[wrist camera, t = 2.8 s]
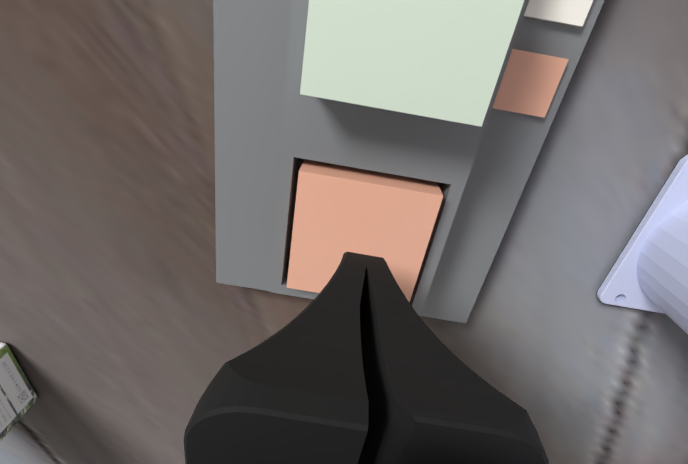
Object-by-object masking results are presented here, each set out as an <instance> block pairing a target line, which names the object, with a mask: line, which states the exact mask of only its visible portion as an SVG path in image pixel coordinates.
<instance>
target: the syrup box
mask: <svg viewBox="0 0 688 464" xmlns="http://www.w3.org/2000/svg"><path fill="white" fill-rule="evenodd" d="M37 399H38V397H37V395H36V393H35V392H34V390H33V388H32V386H31V385H30V383H29V381H28V380H27V378H26V376H25V374H24V373H23V371H22V369H21V367H20V366H19V364H18V362H17V360H16V359H15V357H14V355H13V354H12V352H11V350H10V348H9V347H8V345H7V344H6V343H2V342H0V441H1V440H2V439H3V438H4V437H5V435H6V434H7V433H8V432H9V431H10V430H11V429H12V427H13V426H14V425H15V424H16V423H17V422H18V421H19V420H20V419H21V418H22V417H23V415H24V414H25V413H26V412H27V411H28V410H29V409H30V407H31V406H32V405H33V404H34V403H35V402H36V401H37Z"/></svg>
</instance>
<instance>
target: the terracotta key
mask: <svg viewBox="0 0 688 464" xmlns="http://www.w3.org/2000/svg"><path fill="white" fill-rule="evenodd" d="M442 199H443V194H442V192H441V190H440V188H439V185H438V183H437V182H434V181H428V180H423V179H417V178H411V177H405V176H400V175H394V174H388V173H382V172H377V171H371V170H365V169H360V168H354V167H348V166H342V165H337V164H331V163H325V162H319V161H314V160H308V159H305V160H304V162H303V164H302V166H301V168H300V170H299V174H298V184H297V193H296V202H295V212H294V221H293V231H292V240H291V250H290V259H289V269H288V278H287V288H292V289H298V290H304V291H310V292H316V293H320V292H321V291H322V290H323V288H324V287H325V286H326V285H327V283H328V282H329V280H330V279H331V277H332V276H333V274H334V273H335V271H336V270H337V268H338V266H339V264H340V262H341V260H342V257H343V254H344V253H345V252H353V253H359V254H364V255H370V256H376V257H382V258H384V260H385V261H386V263H387V265H388V267H389V269H390V271H391V273H392V275H393V276H394V278H395V280H396V282H397V284H398V285H399V287H400V289H401V290H402V292H403V293H404V295H405V297H406V298H407V300H408V301H409V303H410V299H411V296H412V293H413V290H414V287H415V284H416V281H417V277H418V274H419V271H420V268H421V265H422V262H423V259H424V255H425V252H426V249H427V246H428V243H429V240H430V237H431V233H432V230H433V227H434V224H435V221H436V218H437V215H438V211H439V208H440V205H441V202H442Z"/></svg>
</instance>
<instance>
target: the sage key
mask: <svg viewBox="0 0 688 464" xmlns="http://www.w3.org/2000/svg"><path fill="white" fill-rule="evenodd" d="M523 3H524V0H309V5H308V16H307V26H306V36H305V47H304V57H303V67H302V78H301V88H300V94H302V95H308V96H313V97H319V98H324V99H330V100H336V101H341V102H347V103H352V104H358V105H364V106H369V107H375V108H380V109H386V110H392V111H397V112H403V113H408V114H414V115H419V116H425V117H431V118H436V119H442V120H447V121H453V122H459V123H464V124H470V125H475V126H481V127H482V124H483V121H484V118H485V115H486V112H487V109H488V106H489V103H490V100H491V97H492V95H493V92H494V89H495V86H496V83H497V80H498V77H499V74H500V71H501V68H502V65H503V62H504V59H505V56H506V53H507V50H508V47H509V44H510V41H511V38H512V36H513V33H514V30H515V27H516V24H517V21H518V18H519V15H520V12H521V9H522V6H523Z"/></svg>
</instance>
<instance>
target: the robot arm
mask: <svg viewBox="0 0 688 464" xmlns="http://www.w3.org/2000/svg"><path fill="white" fill-rule="evenodd" d="M620 294H621V295H620ZM618 295H620V296H618ZM617 296H618V297H617ZM597 297H598V298H599V300H600V301H601V302H602V303H605V304H610V305H616V306H622V307H628V308H634V309H640V310H646V311H652V312H658V313H664V314H667V315H668V316H669V317H670V318H671V319H672V320H673V321H674V322H675V323H676V324H677V325H678V326H679V327H680V328H682V329H683V330H684V331H685V332H686V333H687V334H688V155H686V156H685V157H683V158H682V159H681V160H680V161H679V162H678V164H677V165H676V167H675V169H674V170H673V172H672V173H671V175H670V177H669V178H668V180H667V181H666V183H665V185H664V186H663V188H662V189H661V191H660V192H659V194H658V196H657V197H656V199H655V200H654V202H653V204H652V205H651V207H650V208H649V210H648V212H647V213H646V215H645V216H644V218H643V220H642V221H641V223H640V224H639V226H638V228H637V229H636V231H635V232H634V234H633V236H632V237H631V239H630V240H629V242H628V244H627V245H626V247H625V248H624V250H623V252H622V253H621V255H620V256H619V258H618V260H617V261H616V263H615V264H614V266H613V268H612V269H611V271H610V272H609V274H608V276H607V277H606V279H605V280H604V282H603V284H602V285H601V287H600V288H599V290H598V292H597ZM615 297H616V298H615ZM184 450H185V462H186V464H548V458H547V456H546V453H545V451H544V449H543V446H542V444H541V441H540V438H539V436H538V433H537V431H536V429H535V427H534V425H533V423H532V421H531V419H530V417H529V415H528V413H527V411H526V410H525V409H523V408H522V407H521V406H519V405H518V404H516V403H515V402H513V401H512V400H511V399H509V398H508V397H506V396H505V395H503V394H502V393H500V392H499V391H498V390H496V389H495V388H493V387H492V386H491V385H489V384H488V383H487V382H486V381H484V380H483V379H482V378H481V377H479V376H478V375H477V374H476V373H474V372H473V371H472V370H471V369H470V368H468V367H467V366H466V365H465V364H464V363H463V362H462V361H460V360H459V359H458V358H457V357H456V356H455V355H454V354H453V353H452V352H451V351H450V350H449V349H448V348H447V347H446V346H445V345H444V344H443V343H442V342H441V341H440V340H439V339H438V338H437V337H436V336H435V335H434V333H433V332H432V331H431V330H430V329H429V328H428V327H427V326H426V324H425V323H424V322H423V321H422V319H421V318H420V317H419V316H418V314H417V313H416V311H415V310H414V309H413V307H412V306H411V304H410V303H409V301H408V300H407V298H406V297H405V295H404V293H403V292H402V290H401V289H400V287H399V285H398V284H397V282H396V280H395V278H394V276H393V275H392V273H391V271H390V269H389V267H388V265H387V263H386V261H385V260H384V258H382V257H376V256H370V255H364V254H359V253H353V252H345V253H344V254H343V257H342V260H341V262H340V264H339V266H338V268H337V270H336V271H335V273H334V274H333V276H332V277H331V279H330V280H329V282H328V283H327V285H326V286H325V287H324V288H323V290H322V291H321V292H320V293H319V294H318V296H317V297H316V298H315V299H314V300H313V301H312V302H311V303H310V304H309V306H308V307H307V308H306V309H304V310H303V311H302V312H301V313H300V314H299V315H298V316H297V317H296V318H295V319H293V320H292V321H291V322H290V323H289V324H288V325H286V326H285V327H284V328H282V329H281V330H280V331H278V332H277V333H275V334H274V335H273V336H271V337H270V338H268V339H267V340H265V341H264V342H262V343H261V344H259V345H258V346H256V347H254V348H253V349H251V350H249V351H247V352H245V353H243V354H241V355H240V356H238V357H236V358H234V359H232V360H230V361H228V362H226V363H225V364H224V365H223V366H222V368H221V369H220V370H219V372H218V373H217V374H216V376H215V377H214V378H213V380H212V381H211V383H210V384H209V386H208V387H207V389H206V390H205V392H204V394H203V395H202V397H201V399H200V400H199V402H198V404H197V406H196V408H195V410H194V412H193V415H192V417H191V419H190V421H189V423H188V425H187V427H186V430H185V435H184Z"/></svg>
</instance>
